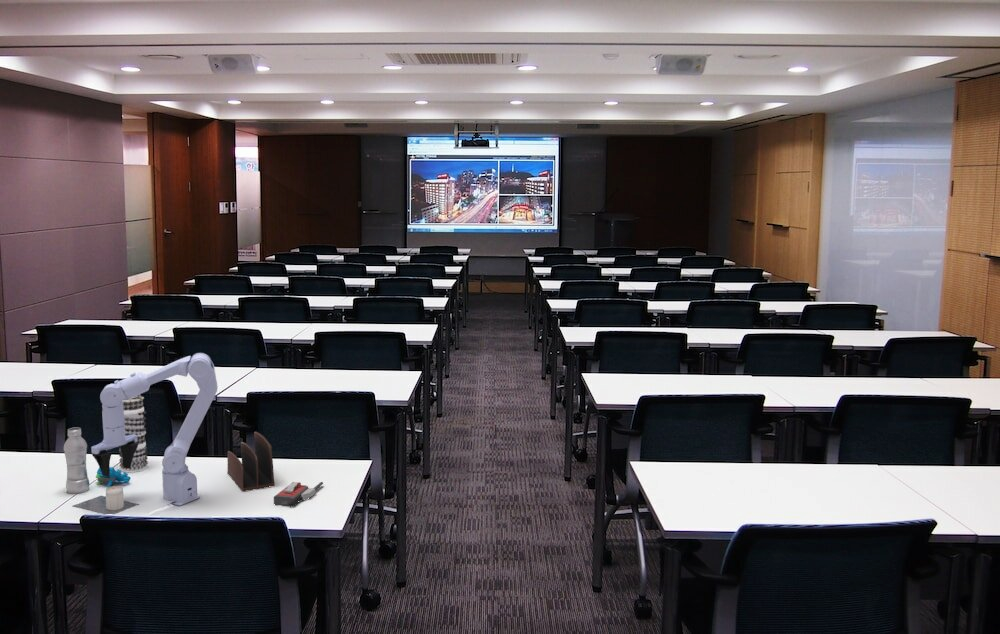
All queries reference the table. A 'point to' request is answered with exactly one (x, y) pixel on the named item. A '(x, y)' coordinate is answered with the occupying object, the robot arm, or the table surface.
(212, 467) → the table surface
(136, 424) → the decorative candle
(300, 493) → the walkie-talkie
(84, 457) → the plastic bottle
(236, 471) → the letter holder
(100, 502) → the flat rectangular plate
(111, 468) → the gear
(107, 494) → the knob
